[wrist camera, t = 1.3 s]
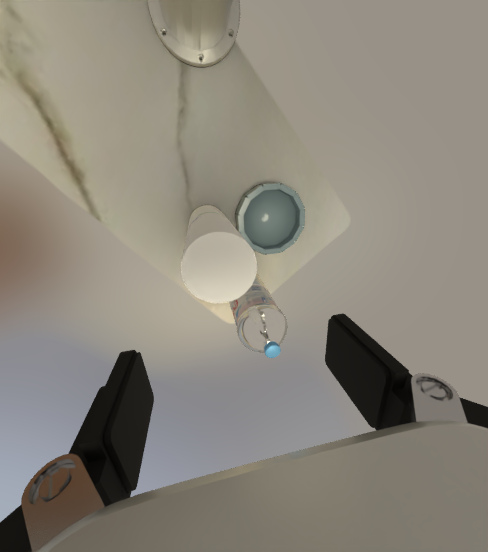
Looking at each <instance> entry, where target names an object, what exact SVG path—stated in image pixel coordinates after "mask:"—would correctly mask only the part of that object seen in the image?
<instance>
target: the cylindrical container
mask: <svg viewBox="0 0 488 552" xmlns="http://www.w3.org/2000/svg"><path fill="white" fill-rule="evenodd" d="M256 273H257V260H256V256H255V254H254V251H253V250H252V248H251V246H250V245H249V244H248V243H247V242H246V240H245V239H244V238H243V237H242V236H241V234H240V233H239V232H238V231H237V230H236V228H235V227H234V226H233V225H232V224H231V222H230V221H229V220H228V219H227V218H226V216H225V215H224V214H223V213H222V212H221V211H220V210H219V209H218V208H216V207H214V206H210V205H204V206H201V207H198V208H197V209H195V210H194V211H193V213H192V214H191V217H190V220H189V225H188V230H187V236H186V241H185V246H184V251H183V257H182V263H181V276H182V279H183V282H184V284H185V286H186V287H187V289H188V290H189V291H190V292H191V293H192V294H193V295H194V296H196V297H197V298H199V299H201V300H203V301H206V302H209V303H226V302H230V301H233V300H235V299H237V298H239V297H241V296H242V295H243V294H244V293H246V292H247V291H248V289H249V288H250V287H251V286H252V284H253V282H254V280H255V277H256Z"/></svg>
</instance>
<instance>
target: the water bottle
mask: <svg viewBox="0 0 488 552" xmlns="http://www.w3.org/2000/svg"><path fill="white" fill-rule="evenodd" d="M229 303H230V307H231V310H232V312H233V315H234V319H235V322H236V326H237V333H238V337H239V339H240V341H241V343H242V344H243V345H244V346H245V347H246V348H248V349H250V350H252V351H255V352H260V353H265V355H266V356H267V357H269V358H274V357H276V356H278V355H279V354H280V347H279V346H280V344H281V343H282V342H283V340H284V338H285V336H286V333H287V328H288V326H287V321H286V318H285V316H284V314H283V313H282V311H281V310H280V309H279V308H278V307H277V305H276V304H275V302H274V301H273V299H272V297H271V296H270V294H269V291H268V290H267V288H266V287H265V285H264V284H263V282H262V281H261V279H260V278H259V276H258V275H257V273H256V277H255V280H254V282H253V284H252V286H251V287H250V288H249V289H248V291H247V292H246V293H244V294H243V295H242V296H241V297H239V298H237V299H235V300H233V301H230V302H229Z"/></svg>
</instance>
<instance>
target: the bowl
mask: <svg viewBox="0 0 488 552" xmlns="http://www.w3.org/2000/svg"><path fill="white" fill-rule="evenodd" d="M244 196H245V197H244ZM244 196H243V197H242V199H241V201H240V203H239V206H238V208H237V210H236V213H235V214H236V227H237V231H238V232H239V233H240V234H241V236H242V237H243V238H244V239H245V240H246V242H247V243H248V244H249V245H250V246H251V248H252V249H253V250H255V251H257V252H260V253H262V254H265V255H266V254H274V253H281V252H283V251H284V250H286V249H287V248H288V247H290V246H291V245H293V244H294V243H295V242H296V241H297V239H298V237H299V235H300V234H301V232H302V230H303V228H304V227H303V226H304V222H305V209H303V208H305V207H304V205H303V203H302V201H301V199H300V197H299V195H298V193H296V191H294V190H292V189H291V188H289V187H287V186H285V185H284V184H282V183H270V184H259V185H257V186H255V187H254V188H253V189H251V190H250V191H248V192H247V193H246V194H244ZM294 241H295V242H294Z"/></svg>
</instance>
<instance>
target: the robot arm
mask: <svg viewBox="0 0 488 552" xmlns="http://www.w3.org/2000/svg"><path fill="white" fill-rule="evenodd" d="M147 1H148V7H149V11H150V15H151V19H152V22H153V25H154V27H155V30H156V32H157V34H158V36H159V38H160V39H161V41H162V42H163V44H164V45H165V47H166V48H167V49H168V50H169V51H170V52H171V53H172V54H173V55H174V56H175V57H177V58H178V59H179V60H181V61H183V62H184V63H186V64H189V65H192V66H195V67H206V66H211V65H214V64H216V63H218V62H219V61H221V60H222V59H223V58H224V57H225V56H226V55H227V54H228V52H229V51H230V50H231V48H232V46H233V44H234V42H235V39H236V36H237V32H238V27H239V21H240V4H239V3H240V2H239V0H147ZM163 33H165V34H166V35H165V36H164V35H163ZM229 35H231V36H232V37H230V36H229ZM200 58H201V59H202V61H200V60H199V59H200ZM325 362H326V365H327V366H328V368H329V369H330V371H331V372H332V374H333V375H334V376H335V378H336V379H337V380H338V382H339V383H340V385H341V386H342V387H343V389H344V390H345V392H346V393H347V394H348V396H349V397H350V399H351V400H352V401H353V403H354V404H355V406H356V407H357V408H358V410H359V411H360V413H361V414H362V415H363V417H364V418H365V420H366V421H367V422H368V424H369V425H370V426H371V427H373V428H375V429H376V430H377V431H373V432H369V433H366V434H361V435H358V436H353V437H349V438H345V439H342V440H338V441H334V442H330V443H326V444H322V445H318V446H314V447H311V448H307V449H303V450H299V451H296V452H292V453H288V454H284V455H281V456H277V457H273V458H269V459H265V460H261V461H257V462H254V463H250V464H247V465H243V466H239V467H235V468H231V469H228V470H224V471H220V472H216V473H213V474H209V475H206V476H202V477H198V478H194V479H190V480H187V481H183V482H180V483H176V484H173V485H169V486H166V487H162V488H159V489H155V490H152V491H149V492H145V493H142V494H138V495H136V496H133V497H130V495H131V491H133V490H135V489H136V487H137V483H138V477H139V473H140V468H141V463H142V457H143V452H144V447H145V443H146V437H147V432H148V427H149V422H150V416H151V412H152V407H153V402H154V396H153V392H152V389H151V385H150V382H149V379H148V376H147V372H146V369H145V366H144V362H143V359H142V356H141V353H140V352H138V353H137V352H136V351H135V350H130V351H125V352H121V353H120V354H119V357H118V359H117V361H116V363H115V366H114V368H113V370H112V372H111V374H110V376H109V379H108V381H107V384H106V385H105V386H103V387H101V388H100V389H99V391H98V393H97V395H96V397H95V399H94V401H93V403H92V405H91V408H90V410H89V412H88V414H87V416H86V418H85V420H84V422H83V425H82V426H81V429H80V431H79V433H78V435H77V437H76V439H75V441H74V443H73V446H72V447H71V450H70V452H69V454H66V455H62V456H60V457H57V458H55V459H54V460H52V461H50V462H49V463H47V464H46V465H45V466H44V467H42V468H41V469H40V470H39V471H38V472H37V473H36V474H35V475H34V477H33V478H32V479H31V480H30V482H29V483H28V485H27V487H26V488H25V490H24V493H23V495H22V501H21V505H20V506H19V507H18V508H17V509H15V511H13V512H12V513H11V514H10V515H8V516H7V517H6V518H5V519H4V520H3V521H2V522H0V552H488V407H486V406H483V405H480V404H477V403H474V402H471V401H468V400H466V399H463V398H460V397H459V395H458V393H457V392H456V390H455V389H454V388H453V387H452V386H451V385H450V384H448V383H447V382H446V381H444V380H442V379H440V378H438V377H436V376H433V375H430V374H424V373H422V374H416V375H414V376H412V375H411V374H410V373H409V370H408V369H406V368H405V367H404V366H403V365H402V364H401V363H399V361H397V360H396V359H395V358H394V357H393V356H392V355H391V354H389V353H388V352H387V351H386V350H385V349H384V348H383V347H381V346H380V345H379V344H378V343H377V342H376V341H375V340H374V339H372V338H371V337H370V336H369V335H368V334H367V333H365V332H364V331H363V330H362V329H361V328H360V327H359V326H358V325H357V324H355V323H354V322H353V321H352V320H351V319H350V318H348V317H347V316H346V315H345V314H338V315H333V316H332V317H331V319H329V323H328V333H327V344H326V355H325Z"/></svg>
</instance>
